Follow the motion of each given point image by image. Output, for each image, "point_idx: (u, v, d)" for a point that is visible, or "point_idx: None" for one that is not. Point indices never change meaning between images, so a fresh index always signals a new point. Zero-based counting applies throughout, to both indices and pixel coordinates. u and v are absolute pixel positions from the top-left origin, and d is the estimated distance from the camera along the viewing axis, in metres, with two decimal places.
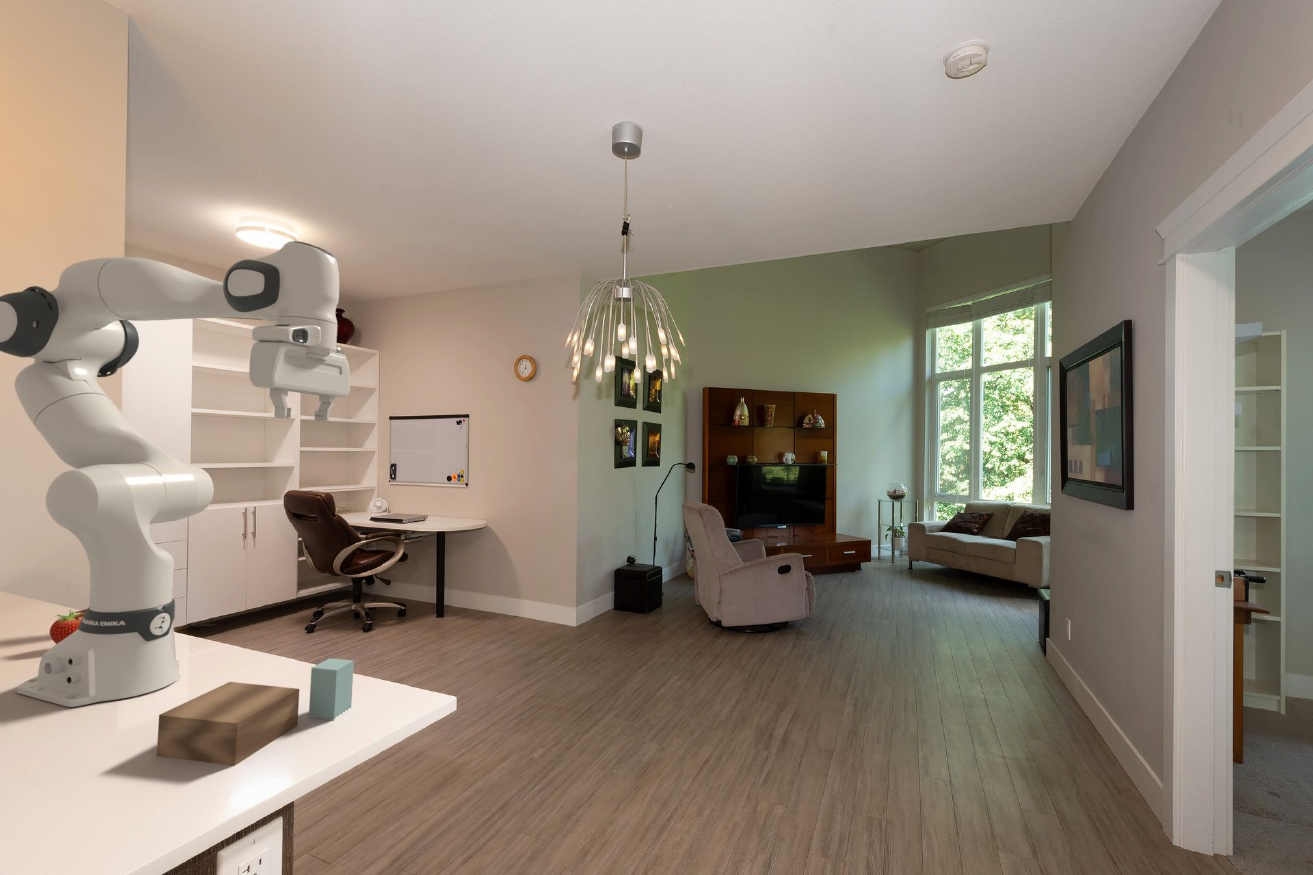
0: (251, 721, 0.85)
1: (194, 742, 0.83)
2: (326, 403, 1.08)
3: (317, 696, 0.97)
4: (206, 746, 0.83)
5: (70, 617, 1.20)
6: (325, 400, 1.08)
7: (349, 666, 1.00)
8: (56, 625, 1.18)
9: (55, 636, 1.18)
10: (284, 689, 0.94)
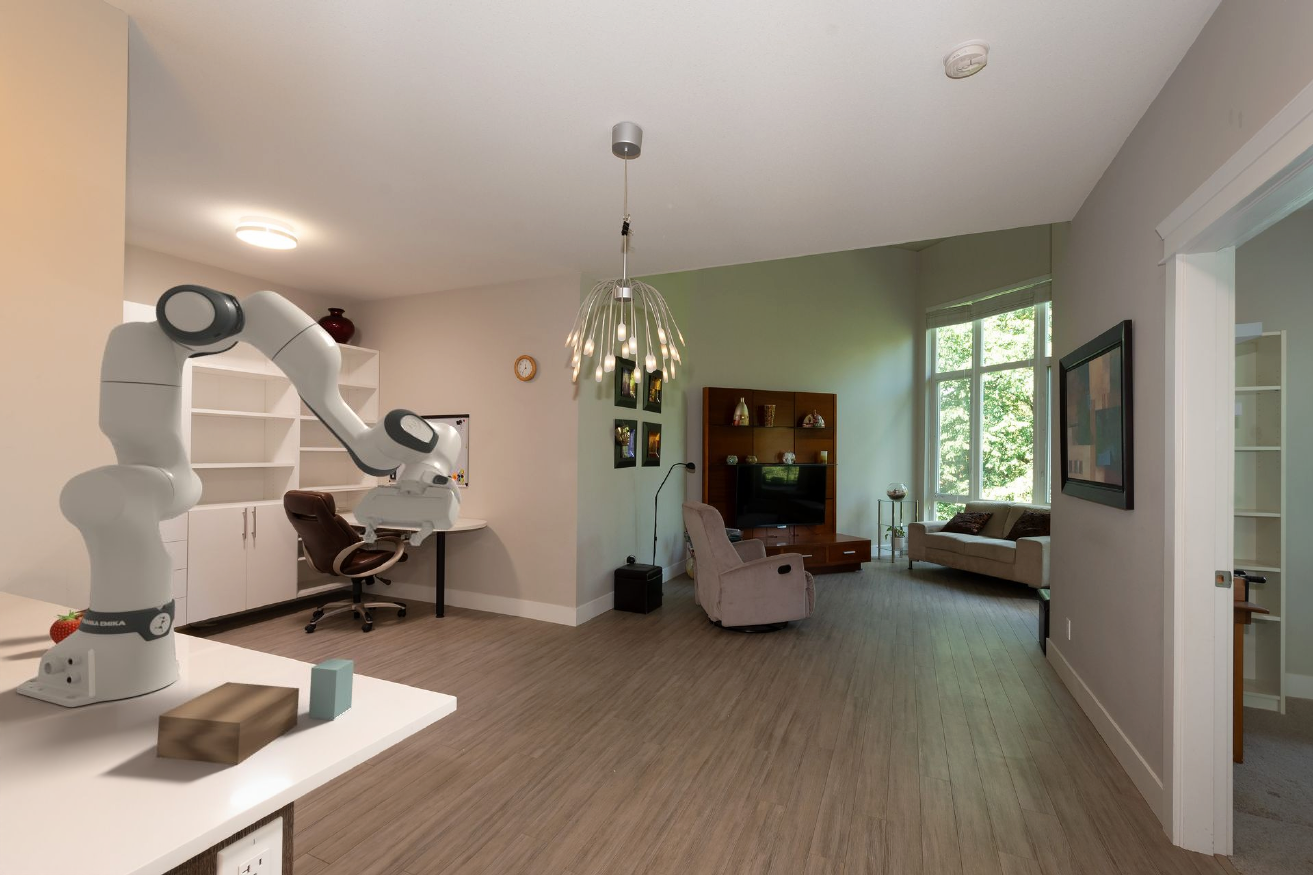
0: (253, 721, 0.85)
1: (196, 742, 0.83)
2: (371, 527, 1.17)
3: (317, 696, 0.97)
4: (207, 746, 0.83)
5: (70, 617, 1.20)
6: (374, 525, 1.18)
7: (349, 666, 1.00)
8: (56, 625, 1.18)
9: (55, 636, 1.18)
10: (284, 689, 0.94)
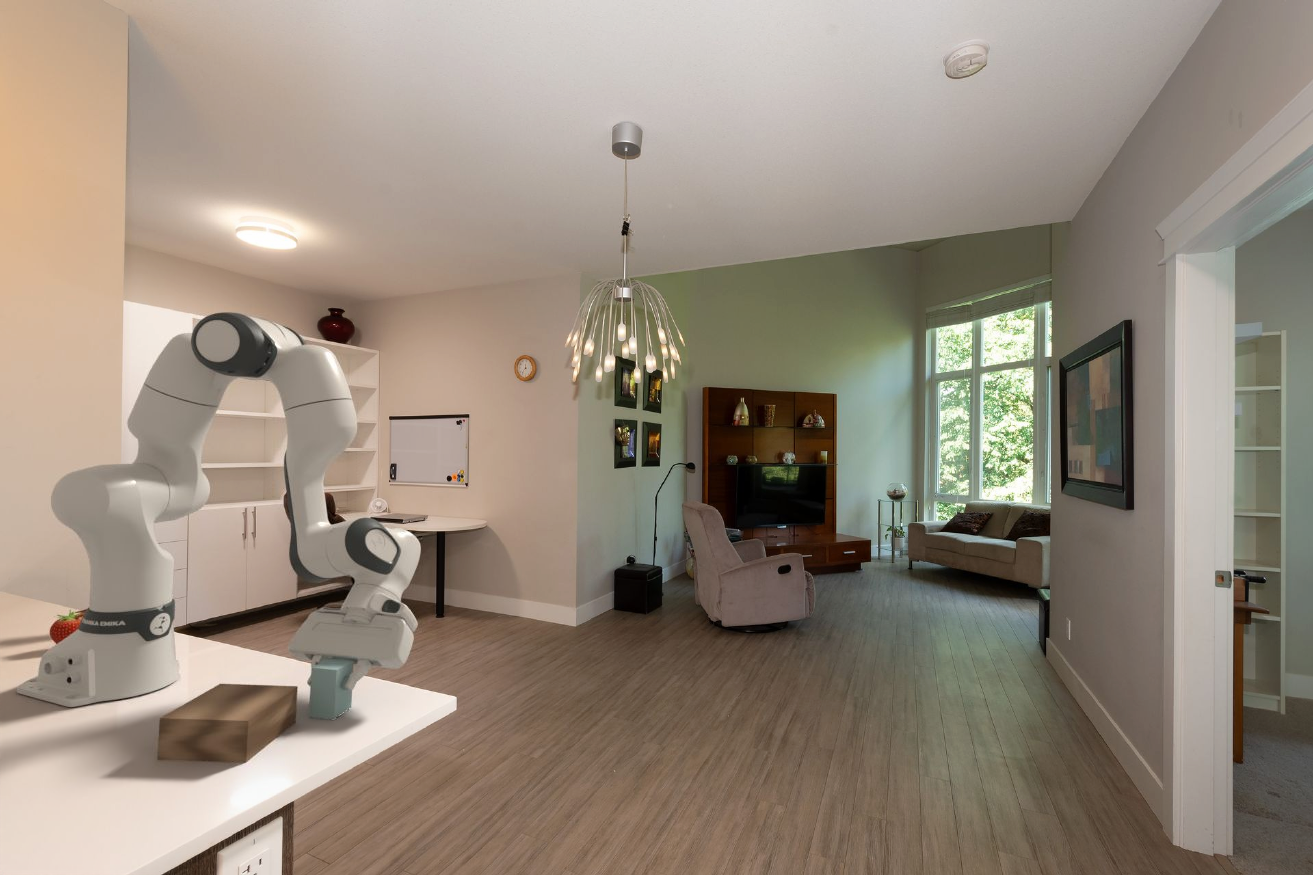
0: (259, 719, 0.85)
1: (200, 742, 0.83)
2: None
3: (317, 695, 0.97)
4: (213, 746, 0.83)
5: (70, 617, 1.20)
6: None
7: (349, 666, 1.00)
8: (56, 625, 1.18)
9: (55, 636, 1.18)
10: (282, 687, 0.94)
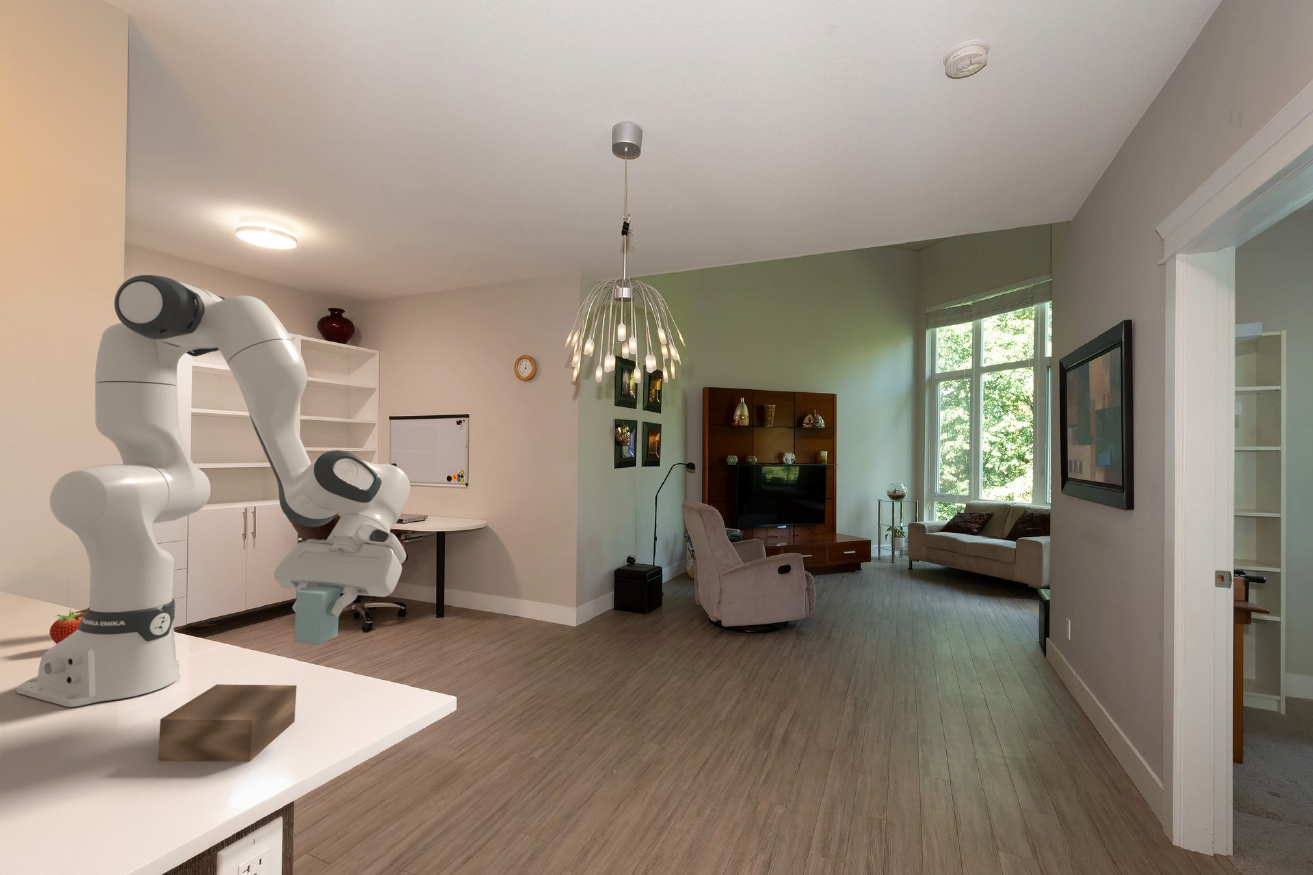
0: (262, 718, 0.86)
1: (203, 743, 0.83)
2: None
3: (303, 620, 0.95)
4: (216, 746, 0.83)
5: (70, 617, 1.20)
6: None
7: (336, 592, 0.98)
8: (56, 625, 1.18)
9: (55, 636, 1.18)
10: (281, 687, 0.94)
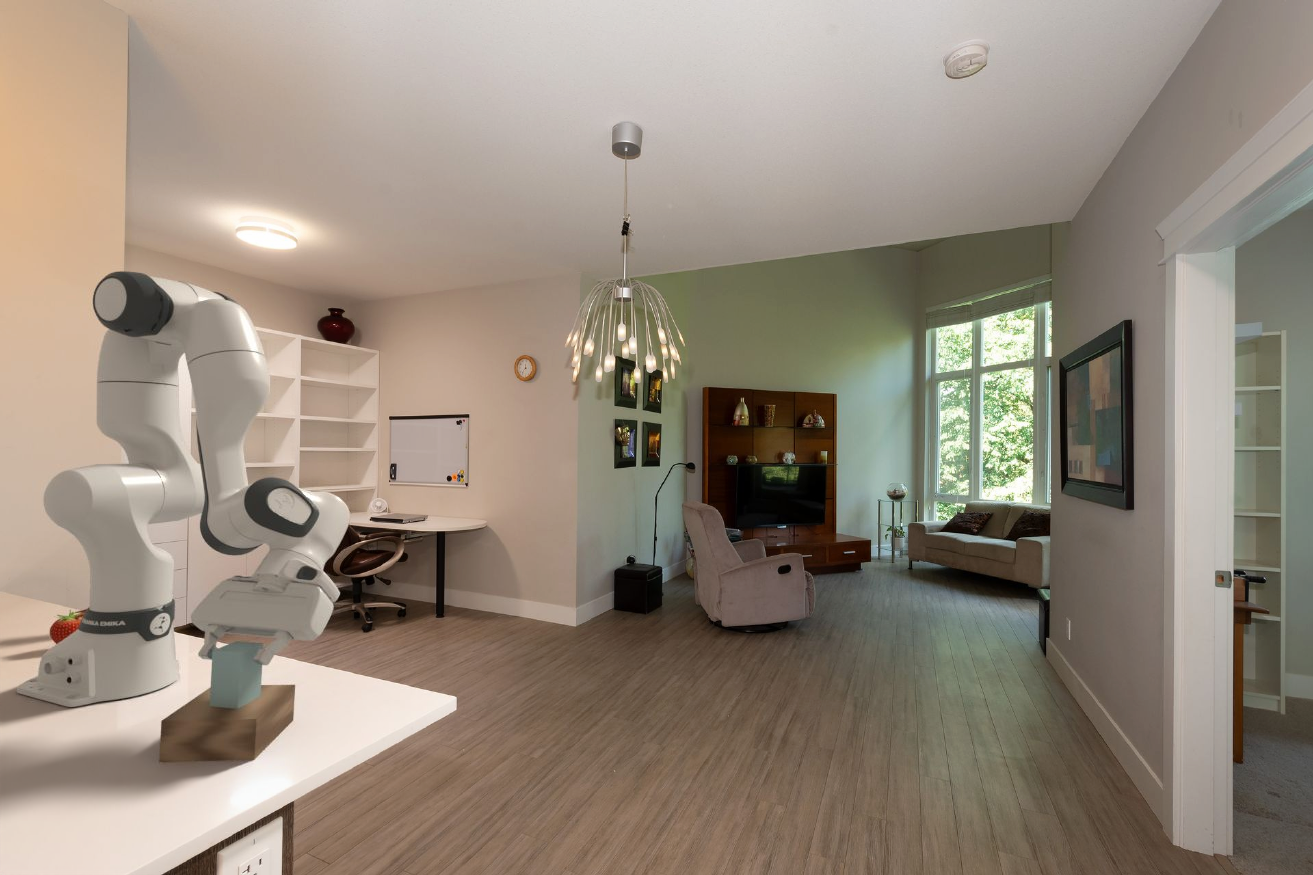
0: (265, 717, 0.86)
1: (205, 743, 0.83)
2: (213, 637, 0.91)
3: (219, 682, 0.87)
4: (219, 745, 0.83)
5: (70, 617, 1.20)
6: (218, 634, 0.92)
7: (258, 649, 0.90)
8: (56, 625, 1.18)
9: (55, 636, 1.18)
10: (279, 686, 0.95)
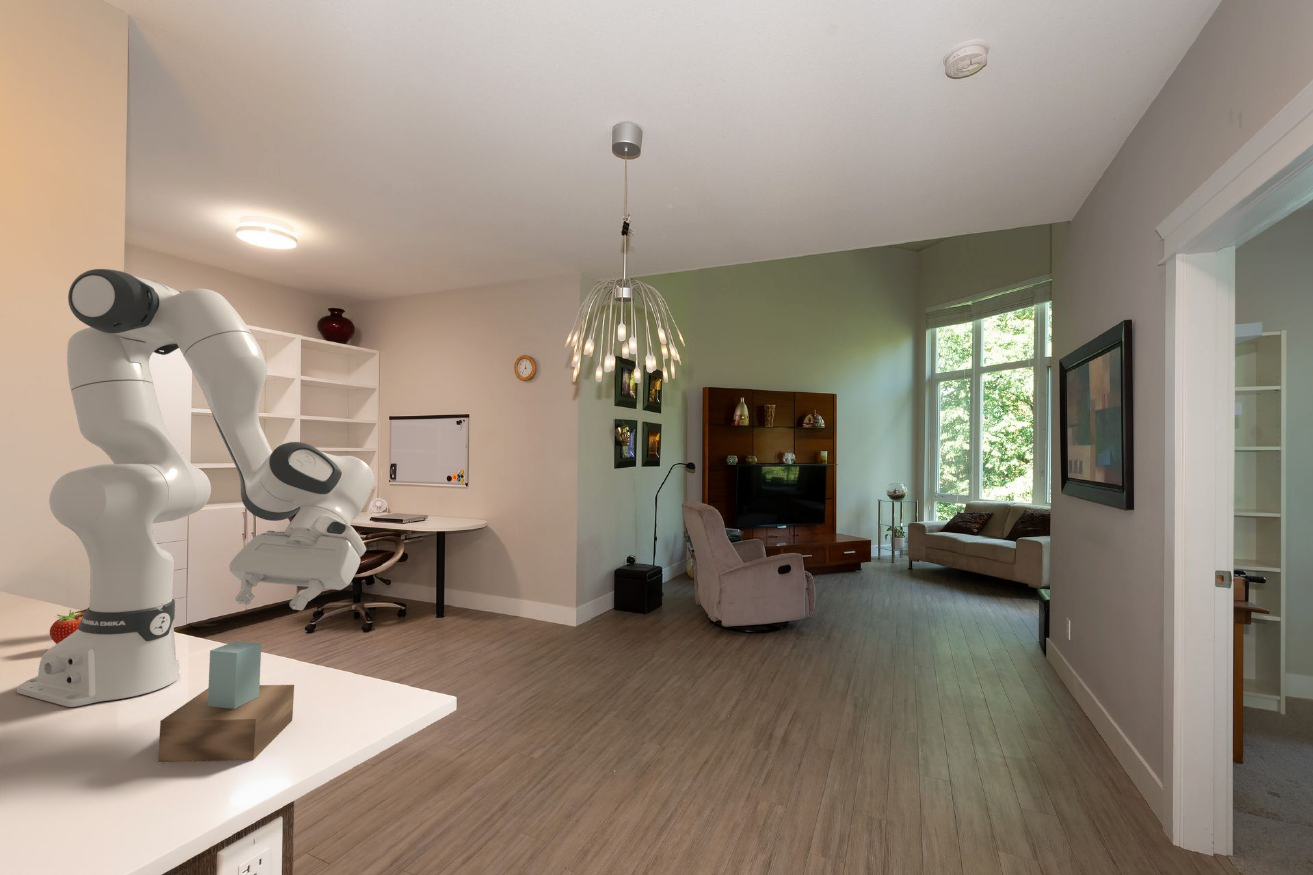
0: (264, 717, 0.86)
1: (204, 743, 0.83)
2: (249, 584, 0.98)
3: (217, 682, 0.87)
4: (219, 746, 0.83)
5: (70, 617, 1.20)
6: (253, 582, 0.99)
7: (255, 649, 0.90)
8: (56, 625, 1.18)
9: (55, 636, 1.18)
10: (278, 686, 0.95)
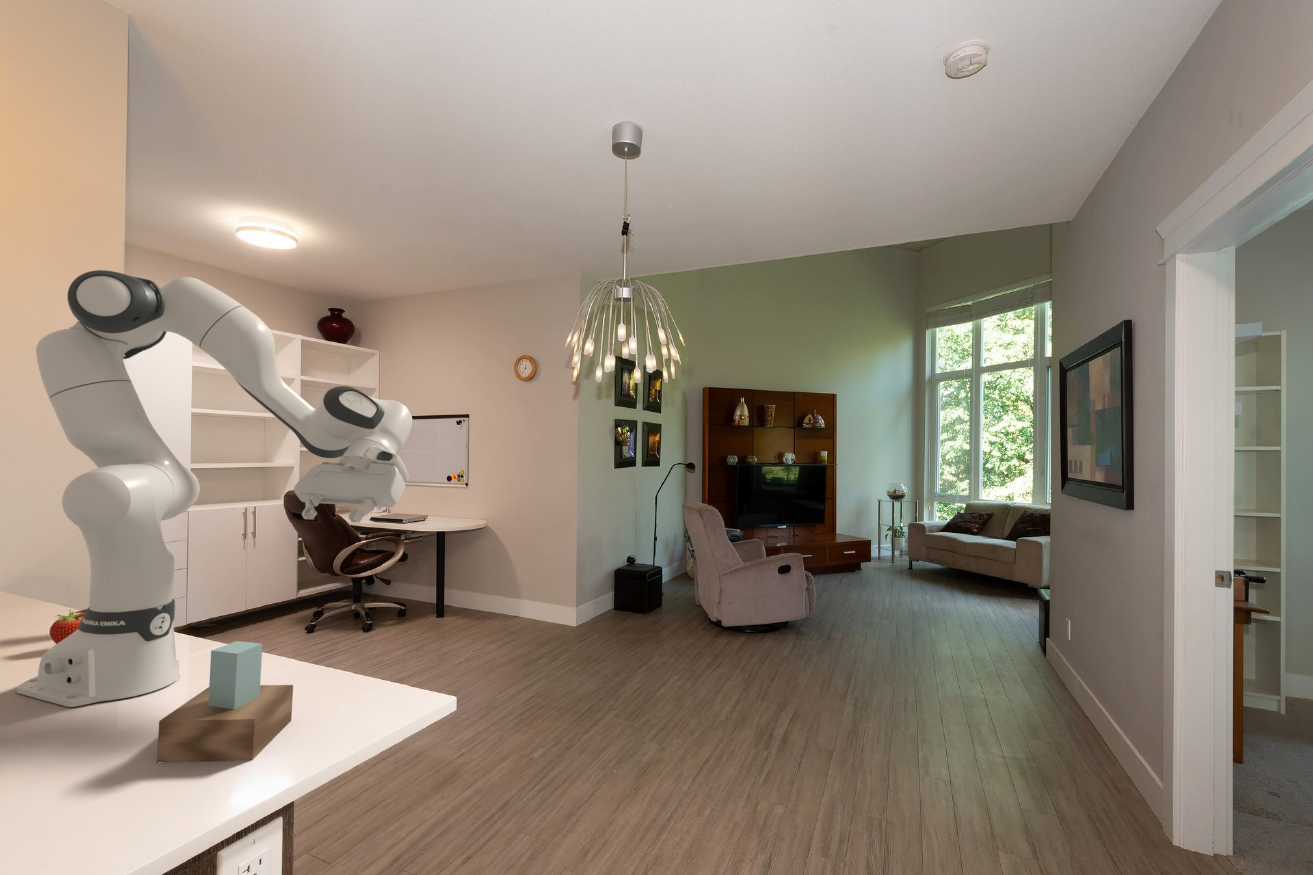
0: (263, 717, 0.86)
1: (203, 743, 0.83)
2: (311, 504, 1.14)
3: (217, 682, 0.87)
4: (217, 746, 0.83)
5: (70, 617, 1.20)
6: (315, 502, 1.14)
7: (256, 650, 0.90)
8: (56, 625, 1.18)
9: (55, 636, 1.18)
10: (277, 686, 0.95)
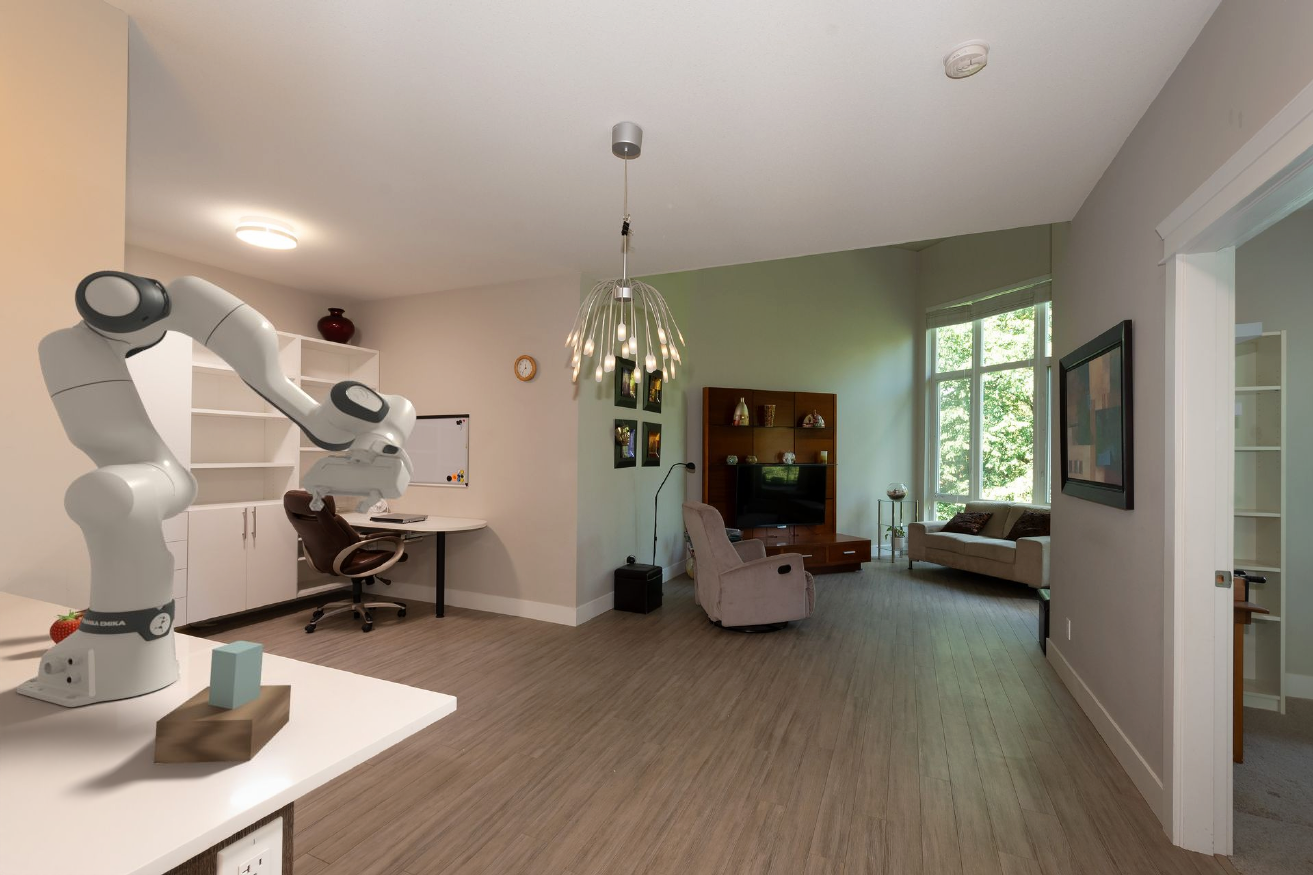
0: (261, 717, 0.86)
1: (201, 744, 0.83)
2: (318, 495, 1.17)
3: (217, 681, 0.87)
4: (215, 746, 0.83)
5: (70, 617, 1.20)
6: (322, 494, 1.17)
7: (257, 650, 0.90)
8: (56, 625, 1.18)
9: (55, 636, 1.18)
10: (275, 687, 0.94)
